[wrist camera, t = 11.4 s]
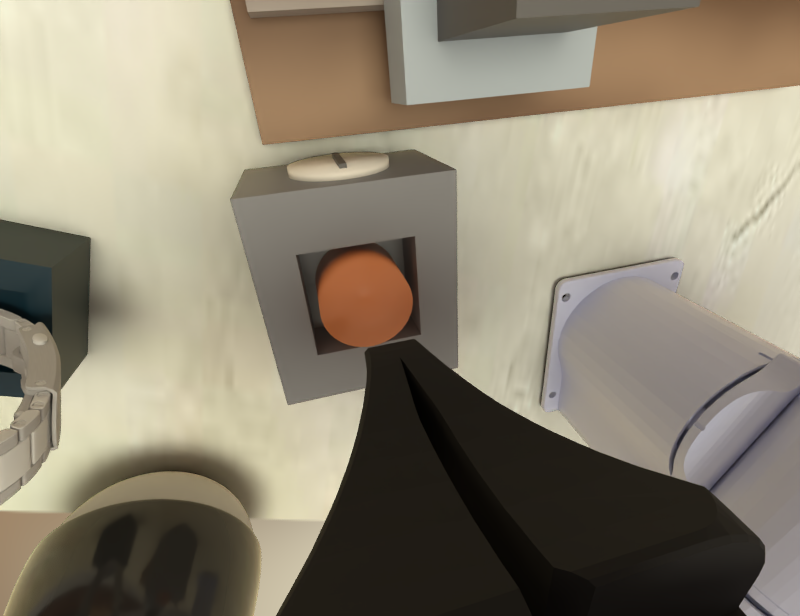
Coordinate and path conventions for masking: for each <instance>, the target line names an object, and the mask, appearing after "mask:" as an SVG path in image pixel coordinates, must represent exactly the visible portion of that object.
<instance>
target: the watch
mask: <svg viewBox="0 0 800 616" xmlns="http://www.w3.org/2000/svg"><path fill="white" fill-rule="evenodd" d="M89 275H90V238H89V237H84V236H79V235H74V234H69V233H64V232H59V231H54V230H49V229H44V228H39V227H34V226H29V225H24V224H19V223H14V222H9V221H4V220H0V396H11V397H23V400H22V402H21V404H20V406H19V408H18V409H17V411H16V412H15V414H14V421H13V422H12V423H11V424H10V429H3V430H1V431H0V505H1V504H3V503H4V502H5V501H7V500H8V499H9V498H11V497H12V496H13V495H14V494H15V493H17V492H18V491H19V490H20V489H21V486H24V485H26V484H27V483H28V482H29V481H30V480H31V479H32V478H33V476H34V475H35V474H36V473H37V472H38V470H39V469H40V468H41V466H42V463H43V462H45V461H46V459H47V457H48V455H49V452H50V450H55V449H57V448H58V445H59V439H60V431H61V389H62V387H63V386H64V385H65V383H66V382H67V381H68V379H69V378H70V377H71V375H72V374H73V373H74V371H75V370H76V369H77V367H78V366H79V365H80V363H81V362H82V361H83V359H84V358H85V357H86V355H87V350H88V312H89Z"/></svg>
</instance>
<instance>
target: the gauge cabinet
mask: <svg viewBox="0 0 800 616" xmlns="http://www.w3.org/2000/svg"><path fill="white" fill-rule="evenodd" d="M230 200H231V204H232V207H233V211H234V215H235V218H236V222H237V225H238V229H239V232H240V236H241V240H242V243H243V247H244V250H245V254H246V257H247V261H248V265H249V268H250V272H251V275H252V279H253V282H254V286H255V289H256V293H257V297H258V300H259V304H260V307H261V311H262V314H263V318H264V322H265V325H266V329H267V332H268V336H269V339H270V343H271V347H272V350H273V354H274V357H275V361H276V364H277V368H278V372H279V375H280V379H281V382H282V386H283V389H284V393H285V396H286V400H287V404H288V405H291V404H295V403H300V402H304V401H309V400H313V399H318V398H323V397H327V396H332V395H336V394H341V393H345V392H350V391H354V390H359V389H363V388H366V378H367V368H366V361H365V354H364V352H365V351H366V350H367V349H368V348H370V347H375V346H380V345H385V344H390V343H395V342H400V341H405V340H410V339H415V340H417V341H418V342H419V343H421V344H422V345H423V346H424V347H425V348H426V349H427V350H429V351H430V352H431V353H432V354H433V355H434V356H436V357H437V358H438V359H439V360H440V361H442V362H443V363H444V364H445V365H447V366H448V367H449V368H450V369H454V368H458V315H457V192H456V169H454V168H452V167H450V166H448V165H445V164H443V163H441V162H439V161H437V160H435V159H433V158H431V157H429V156H427V155H425V154H423V153H421V152H419V151H416V150H406V151H397V152H389V153H376V152H350V153H332V154H329V155H322V156H316V157H311V158H307V159H303V160H299V161H296V162H293V163H291V164H289V165H281V166H273V167H264V168H256V169H248V170H244V172H243V174H242V176H241V178H240V180H239V183H238V185H237V187H236V189H235V191H234V193H233V195H232V197H231V199H230ZM369 243H376V244H378V245H380V246H381V247H383V248H384V249H385V250H386V251H387V252H388V253H389V254H390V256H391V257H392V259H393V260H394V262H395V263H396V265H397V267H398V268H399V270H400V271H401V273H402V275H403V276H404V278H405V279H406V281H407V283H408V284H409V286H410V289H411V292H412V297H413V306H412V311H411V315H410V317H409V319H408V321H407V323H406V325H405V326H404V327H403V329H402V330H401V331H400V332H399V333H398V334H396V335H395V336H394V337H393V338H391V339H389V340H388V341H386V342H384V343H381V344H378V345H375V346H369V347H355V346H350V345H347V344H344V343H342V342H340V341H338V340H337V339H335V338H334V337H333V336H332V335H330V333H329V332H328V331H327V330H326V328H325V327H324V325H323V322H322V319H321V316H320V309H319V303H318V296H317V290H316V283H315V276H316V271H317V267H318V265H319V263H320V261H321V259H322V258H323V257H324V255H325V254H326V253H327V252H328V251H329V250H331V249H337V248H343V247H350V246H356V245H362V244H369Z"/></svg>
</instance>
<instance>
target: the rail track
mask: <svg viewBox="0 0 800 616" xmlns="http://www.w3.org/2000/svg"><path fill="white" fill-rule="evenodd" d="M230 3H231V7H232V11H233V16H234V20H235V25H236V29H237V34H238V38H239V42H240V47H241V51H242V56H243V60H244V64H245V69H246V73H247V78H248V82H249V86H250V91H251V95H252V100H253V104H254V109H255V113H256V117H257V122H258V126H259V131H260V135H261V139H262V144H263V145H265V144H274V143H283V142H292V141H301V140H310V139H319V138H328V137H337V136H346V135H355V134H364V133H373V132H382V131H391V130H400V129H409V128H418V127H428V126H437V125H446V124H455V123H464V122H473V121H482V120H491V119H500V118H509V117H518V116H527V115H536V114H545V113H554V112H563V111H572V110H581V109H590V108H599V107H608V106H617V105H626V104H635V103H644V102H653V101H662V100H671V99H680V98H689V97H698V96H708V95H717V94H726V93H735V92H744V91H753V90H762V89H771V88H780V87H789V86H798V85H800V0H701V1H700V5H699V7H695V8H689V9H684V10H679V11H674V12H669V13H664V14H658V15H653V16H648V17H643V18H638V19H633V20H628V21H622V22H617V23H612V24H607V25H602V26H597V34H596V41H595V49H594V56H593V64H592V71H591V79H590V86H589V87H584V88H574V89H564V90H554V91H544V92H534V93H524V94H514V95H504V96H494V97H484V98H474V99H464V100H454V101H444V102H434V103H424V104H414V105H402V104H395V103H391V90H390V77H389V64H388V51H387V38H386V25H385V12H384V0H230Z"/></svg>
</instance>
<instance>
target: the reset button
mask: <svg viewBox="0 0 800 616" xmlns="http://www.w3.org/2000/svg"><path fill="white" fill-rule="evenodd" d="M315 283H316V290H317V296H318V303H319V309H320V316H321V319H322V322H323V325H324V327H325V328H326V330H327V331H328V332H329V333H330V335H332V336H333V337H334V338H335V339H337V340H338V341H340V342H342V343H344V344H347V345H350V346H355V347H369V346H375V345H378V344H381V343H384V342H386V341H388V340H389V339H391V338H393V337H394V336H395V335H396V334H398V333H399V332H400V331H401V330H402V329H403V327H404V326H405V325H406V323H407V321H408V319H409V317H410V315H411V311H412V306H413V297H412V292H411V289H410V286H409V284H408V283H407V281H406V279H405V278H404V276H403V275H402V273H401V271H400V270H399V268H398V267H397V265H396V263H395V262H394V260H393V259H392V257H391V256H390V254H389V253H388V252H387V251H386V250H385V249H384V248H383V247H381V246H380V245H378V244H376V243H369V244H362V245H356V246H350V247H343V248H337V249H331V250H329V251H328V252H327V253H326V254H325V255H324V257H323V258H322V259H321V261H320V263H319V265H318V267H317V271H316V276H315Z"/></svg>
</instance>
